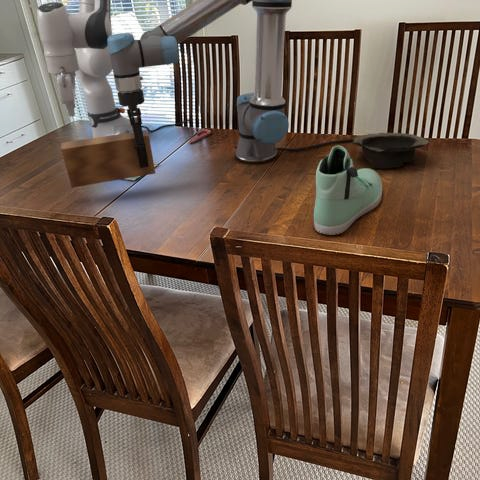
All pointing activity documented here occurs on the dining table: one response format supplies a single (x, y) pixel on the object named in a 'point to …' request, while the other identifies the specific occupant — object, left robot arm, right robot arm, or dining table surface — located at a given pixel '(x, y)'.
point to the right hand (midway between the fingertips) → (143, 162)
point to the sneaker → (343, 192)
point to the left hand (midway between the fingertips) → (72, 112)
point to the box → (105, 159)
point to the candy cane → (200, 135)
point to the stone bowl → (389, 148)
